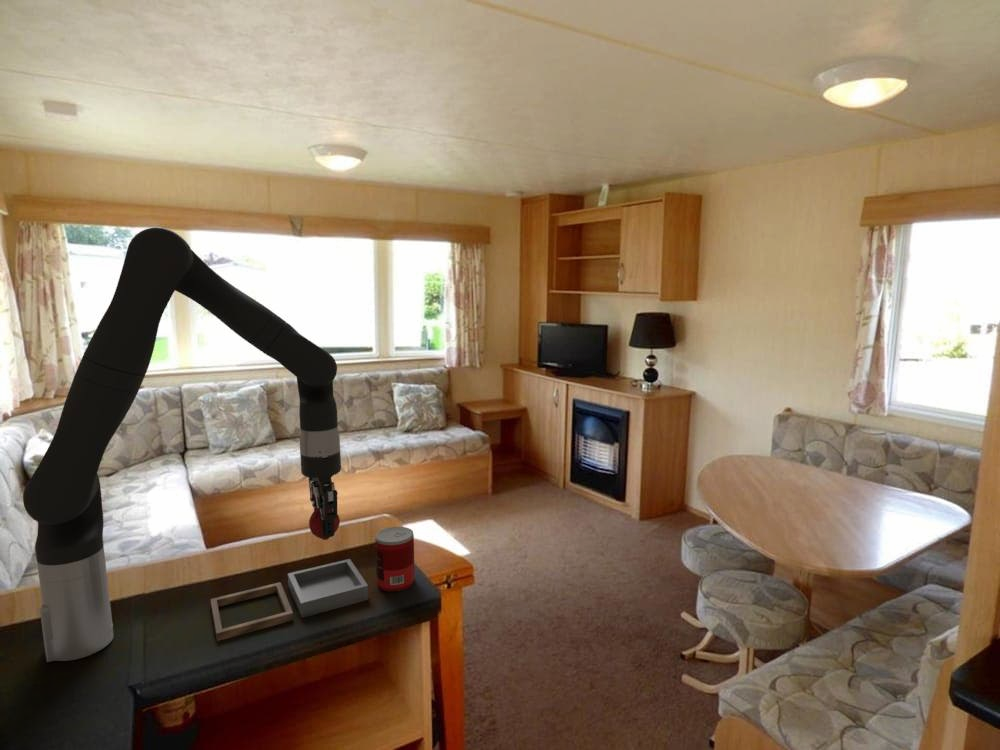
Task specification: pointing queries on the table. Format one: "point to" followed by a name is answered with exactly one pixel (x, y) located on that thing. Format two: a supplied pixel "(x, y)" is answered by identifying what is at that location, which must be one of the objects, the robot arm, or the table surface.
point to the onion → (320, 523)
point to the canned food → (394, 558)
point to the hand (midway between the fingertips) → (324, 530)
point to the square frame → (254, 624)
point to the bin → (327, 587)
